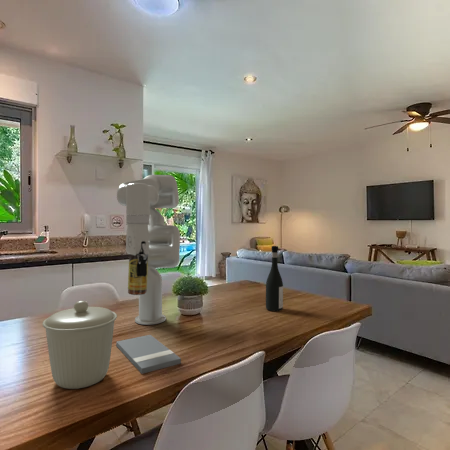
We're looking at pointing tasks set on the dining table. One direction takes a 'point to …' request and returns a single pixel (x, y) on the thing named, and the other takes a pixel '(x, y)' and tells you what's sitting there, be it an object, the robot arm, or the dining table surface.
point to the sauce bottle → (136, 277)
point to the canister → (79, 344)
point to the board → (147, 353)
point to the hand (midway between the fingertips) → (138, 273)
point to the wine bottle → (274, 285)
